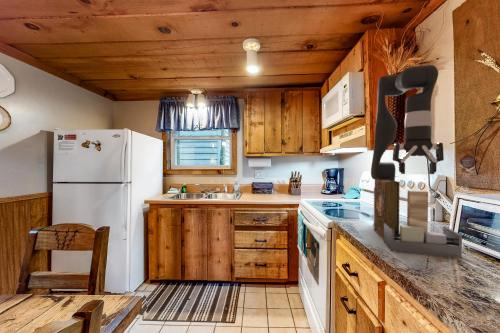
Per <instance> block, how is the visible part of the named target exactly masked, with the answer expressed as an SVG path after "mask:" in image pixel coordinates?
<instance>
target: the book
mask: <svg viewBox="0 0 500 333" xmlns="http://www.w3.org/2000/svg"><path fill="white" fill-rule="evenodd" d="M400 185H401V184H400V182H399V181H396V180H395V181H393V180H388V179H374V188H375V203H374V202H373V231H374V232H375V233H376V234H377V235H378V236H379V237H380V238H381V239H383V240H384V223H387V224H388V225H389V226H390V227H391V228H392V229H393V230H394V233H400V192H401V191H400V190H401V189H400Z"/></svg>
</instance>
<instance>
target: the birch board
mask: <svg viewBox="0 0 500 333" xmlns="http://www.w3.org/2000/svg"><path fill="white" fill-rule="evenodd" d="M406 200H407V201H406V202H407V204H406V205H407V207H406V208H407V210H406V211H407V212H406V220H407V221H406V224H407V225H406V226H415V227H422V228H423V229H424V233H429V230H428V227H429V226H428V224H429V191H426V190H410V189H409V190H407V199H406Z"/></svg>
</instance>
